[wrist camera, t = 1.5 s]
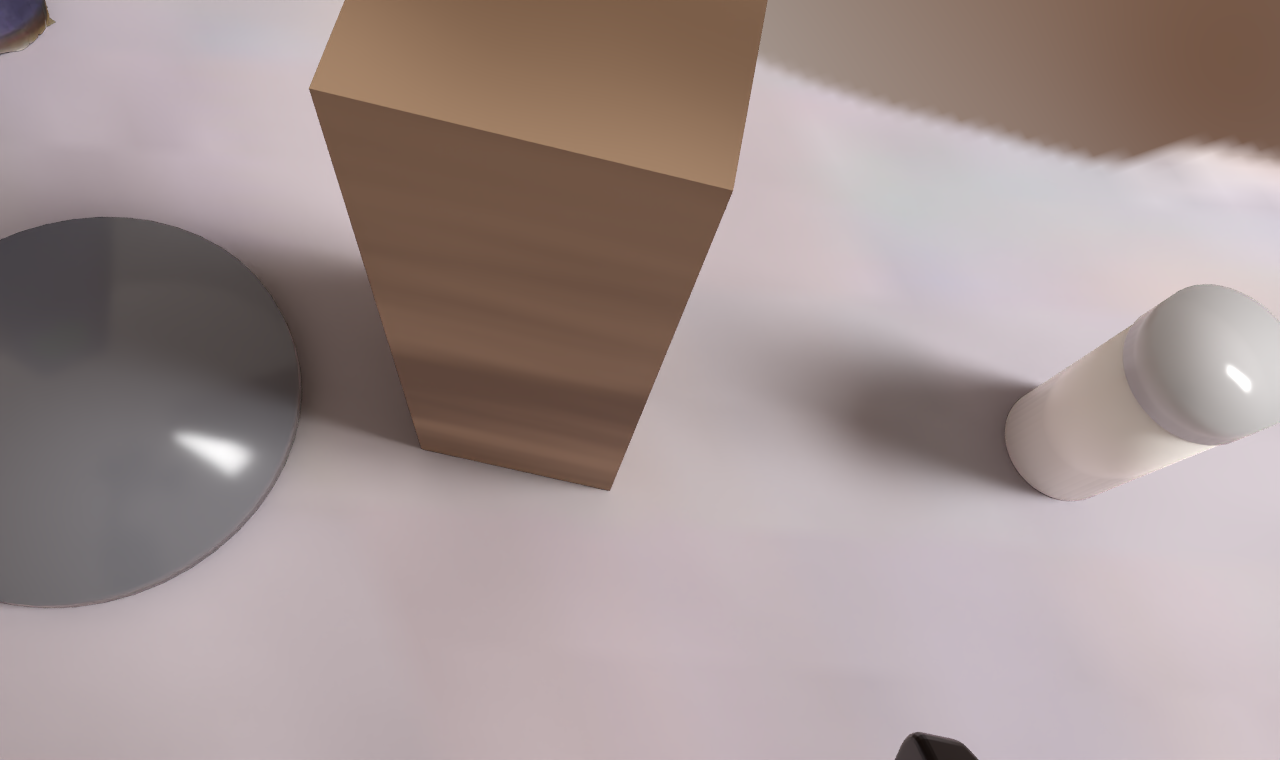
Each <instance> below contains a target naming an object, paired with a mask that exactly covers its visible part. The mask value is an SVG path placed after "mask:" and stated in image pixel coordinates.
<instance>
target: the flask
mask: <svg viewBox="0 0 1280 760" xmlns="http://www.w3.org/2000/svg"><path fill="white" fill-rule="evenodd" d="M47 8H48V7H47V6H46V2H45V0H0V53H5V52H11V51H12V52H14V51H16V52H17V51H21V50H24V49H25V48H26V47H28V46H29V43H30V44H31V43H33V42H34V41H35V40H36V39H37V38H38V34H40V35H41V34H42V33H43V31H44V30H45V28H46V27H48V26H49V25H51V24H53V23H55V21H54V20H52V19H51V18H50V17H49V13H48V10H47Z"/></svg>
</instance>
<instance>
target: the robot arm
mask: <svg viewBox="0 0 1280 760" xmlns="http://www.w3.org/2000/svg"><path fill="white" fill-rule="evenodd" d="M895 760H978V759H977V757H976V756H975V755H974V754H973V753H972V752H971V751H970V750H969V749H968V748H967V747H966V746H965V745H964V744H963V743H961V742H959V741H957V740H954V739H951V738H946V737H941V736H936V735H932V734H927V733H922V732H915V733H912V734H910V735H909V736H908V737H907V738H906V739H905V740H904V742H903V743H902V745H901V747H900V749H899V752H898V754H897V756H896V758H895Z"/></svg>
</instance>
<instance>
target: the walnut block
mask: <svg viewBox="0 0 1280 760" xmlns="http://www.w3.org/2000/svg"><path fill="white" fill-rule="evenodd" d="M766 6H767V0H345V1H344V4H343V6H342V8H341V11H340V13H339V16H338V18H337V21H336V23H335V26H334V28H333V31H332V33H331V35H330V38H329V40H328V43H327V45H326V48H325V50H324V53H323V55H322V58H321V60H320V62H319V65H318V67H317V70H316V72H315V75H314V77H313V80H312V82H311V85H310V87H309V90H310V93H311V96H312V100H313V103H314V106H315V109H316V112H317V116H318V119H319V122H320V125H321V128H322V132H323V135H324V138H325V141H326V144H327V148H328V151H329V154H330V157H331V161H332V164H333V167H334V170H335V173H336V177H337V180H338V183H339V186H340V189H341V193H342V196H343V199H344V202H345V205H346V209H347V212H348V215H349V218H350V222H351V225H352V228H353V231H354V234H355V238H356V241H357V244H358V247H359V250H360V254H361V257H362V260H363V263H364V266H365V270H366V273H367V276H368V279H369V282H370V286H371V289H372V292H373V295H374V299H375V302H376V305H377V308H378V311H379V315H380V318H381V321H382V324H383V327H384V331H385V334H386V337H387V340H388V343H389V347H390V350H391V353H392V356H393V359H394V363H395V366H396V369H397V372H398V376H399V379H400V382H401V385H402V388H403V392H404V395H405V398H406V401H407V404H408V408H409V411H410V414H411V417H412V420H413V424H414V427H415V430H416V433H417V437H418V440H419V443H420V446H421V449H424V450H429V451H433V452H438V453H442V454H447V455H451V456H456V457H460V458H465V459H469V460H474V461H478V462H483V463H487V464H492V465H496V466H501V467H505V468H510V469H514V470H519V471H523V472H528V473H532V474H537V475H541V476H546V477H550V478H555V479H559V480H564V481H568V482H573V483H577V484H582V485H586V486H591V487H595V488H600V489H604V490H609V491H610V489H611V487H612V484H613V482H614V479H615V477H616V475H617V472H618V470H619V467H620V465H621V462H622V460H623V457H624V455H625V453H626V450H627V448H628V445H629V443H630V440H631V438H632V436H633V433H634V431H635V428H636V426H637V423H638V421H639V418H640V416H641V414H642V411H643V409H644V406H645V404H646V401H647V399H648V397H649V394H650V392H651V389H652V387H653V384H654V382H655V379H656V377H657V375H658V372H659V370H660V367H661V365H662V362H663V360H664V358H665V355H666V353H667V350H668V348H669V345H670V343H671V340H672V338H673V336H674V333H675V331H676V328H677V326H678V323H679V321H680V319H681V316H682V314H683V311H684V309H685V306H686V304H687V301H688V299H689V297H690V294H691V292H692V289H693V287H694V284H695V282H696V280H697V277H698V275H699V272H700V270H701V267H702V265H703V262H704V260H705V258H706V255H707V253H708V250H709V248H710V245H711V243H712V241H713V238H714V236H715V233H716V231H717V228H718V226H719V223H720V221H721V219H722V216H723V214H724V211H725V209H726V206H727V204H728V202H729V199H730V197H731V194H732V192H733V188H734V182H735V177H736V171H737V166H738V160H739V155H740V149H741V144H742V138H743V133H744V127H745V122H746V116H747V111H748V105H749V100H750V94H751V89H752V83H753V77H754V72H755V66H756V61H757V55H758V50H759V44H760V38H761V33H762V28H763V22H764V17H765V11H766Z"/></svg>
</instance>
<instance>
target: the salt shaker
mask: <svg viewBox="0 0 1280 760" xmlns="http://www.w3.org/2000/svg"><path fill="white" fill-rule="evenodd" d="M1278 423H1280V322H1279V321H1278V319H1277V318H1276V317H1275V316H1274V315H1273V314H1272V313H1271V312H1270V311H1269V310H1268V309H1266V308H1265V307H1264V306H1263V305H1261V304H1260V303H1259V302H1257V301H1256V300H1254V299H1253V298H1251V297H1249V296H1247V295H1245V294H1243V293H1241V292H1239V291H1237V290H1234V289H1231V288H1228V287H1224V286H1219V285H1207V284H1203V285H1194V286H1191V287H1187V288H1184V289H1182V290H1180V291H1178V292H1177V293H1175V294H1174V295H1172V296H1171V297H1169V298H1168V299H1166V300H1165V301H1163V302H1161V303H1160V304H1158V305H1157V306H1155V307H1154V308H1152V309H1151V310H1149V311H1148V312H1146V313H1145V314H1143V315H1142V316H1140V317H1139V318H1138V319H1137V320H1136V321H1135V322H1134V324H1133V325H1131V326H1130V327H1128V328H1126V329H1125V330H1123V331H1122V332H1120V333H1119V334H1117V335H1116V336H1114V337H1113V338H1111V339H1110V340H1108V341H1107V342H1105V343H1104V344H1102V345H1101V346H1099V347H1098V348H1096V349H1095V350H1093V351H1091V352H1090V353H1088V354H1087V355H1085V356H1084V357H1082V358H1081V359H1079V360H1078V361H1076V362H1075V363H1073V364H1072V365H1070V366H1069V367H1067V368H1066V369H1064V370H1063V371H1061V372H1060V373H1058V374H1057V375H1055V376H1053V377H1052V378H1050V379H1049V380H1047V381H1046V382H1044V383H1043V384H1041V385H1040V386H1038V387H1037V388H1035V389H1034V390H1032V391H1031V392H1029V393H1028V394H1026V395H1025V396H1023V397H1022V398H1020V399H1019V400H1018V401H1017V402H1016V403H1015V404H1014V406H1013V407H1012V408H1011V410H1010V412H1009V414H1008V417H1007V420H1006V424H1005V442H1006V448H1007V451H1008V454H1009V457H1010V459H1011V461H1012V463H1013V465H1014V466H1015V468H1016V470H1017V471H1018V472H1019V474H1020V475H1021V476H1022V477H1023V478H1024V479H1025V480H1026V481H1027V482H1028V483H1029V484H1030V485H1031V486H1032V487H1034V488H1035V489H1037V490H1038V491H1039V492H1041V493H1043V494H1045V495H1047V496H1050V497H1052V498H1055V499H1059V500H1064V501H1079V500H1084V499H1087V498H1090V497H1093V496H1095V495H1098V494H1100V493H1103V492H1105V491H1108V490H1110V489H1112V488H1115V487H1117V486H1120V485H1122V484H1125V483H1127V482H1130V481H1132V480H1135V479H1137V478H1139V477H1142V476H1144V475H1147V474H1149V473H1152V472H1154V471H1157V470H1159V469H1162V468H1164V467H1166V466H1169V465H1171V464H1174V463H1176V462H1179V461H1181V460H1184V459H1186V458H1189V457H1191V456H1194V455H1196V454H1198V453H1201V452H1203V451H1206V450H1208V449H1211V448H1213V447H1216V446H1218V445H1224V444H1229V443H1232V442H1235V441H1237V440H1240V439H1242V438H1245V437H1247V436H1250V435H1252V434H1255V433H1257V432H1260V431H1262V430H1265V429H1267V428H1269V427H1272V426H1274V425H1276V424H1278Z"/></svg>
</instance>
